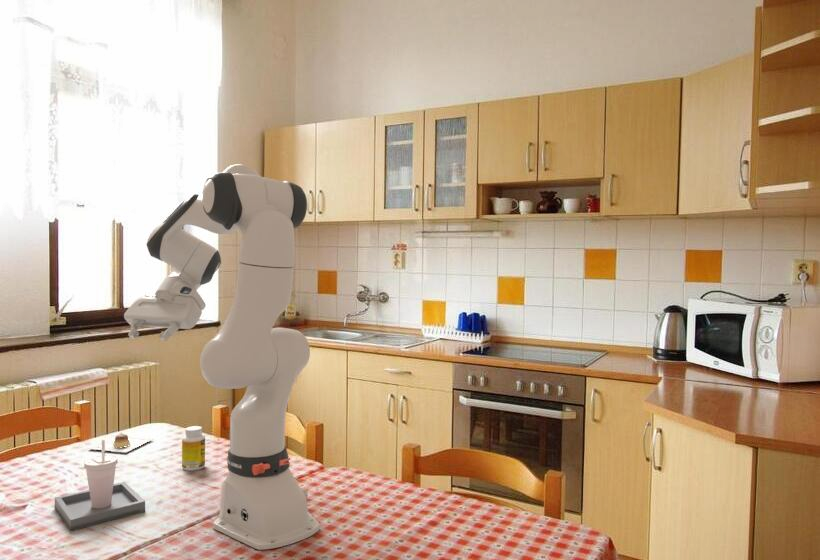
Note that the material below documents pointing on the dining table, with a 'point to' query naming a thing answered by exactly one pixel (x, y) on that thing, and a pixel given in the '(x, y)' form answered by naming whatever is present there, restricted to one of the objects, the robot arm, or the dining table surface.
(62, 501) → the tray
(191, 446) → the supplement bottle
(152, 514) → the dining table surface
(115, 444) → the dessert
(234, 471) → the robot arm
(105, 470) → the smoothie
